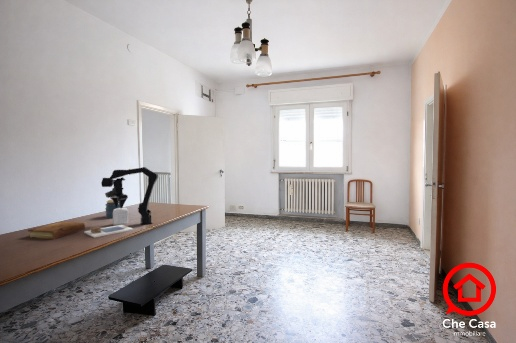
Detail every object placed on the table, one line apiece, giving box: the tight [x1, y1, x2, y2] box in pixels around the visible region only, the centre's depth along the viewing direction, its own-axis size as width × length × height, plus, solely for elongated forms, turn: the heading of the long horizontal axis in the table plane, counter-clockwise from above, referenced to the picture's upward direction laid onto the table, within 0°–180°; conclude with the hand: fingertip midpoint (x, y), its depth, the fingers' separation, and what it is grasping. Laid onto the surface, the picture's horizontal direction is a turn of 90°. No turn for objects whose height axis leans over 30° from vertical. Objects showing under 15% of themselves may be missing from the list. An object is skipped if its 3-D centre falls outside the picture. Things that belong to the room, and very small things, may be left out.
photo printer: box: [112, 207, 129, 226], centre depth 199 cm, size 10×4×12 cm, turn 124°
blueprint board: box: [83, 224, 134, 238], centre depth 179 cm, size 24×18×4 cm
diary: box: [27, 221, 86, 240], centre depth 173 cm, size 23×19×6 cm
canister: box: [104, 199, 124, 219], centre depth 223 cm, size 13×13×18 cm
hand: (118, 207), depth 196 cm, fingers open, 9 cm apart
